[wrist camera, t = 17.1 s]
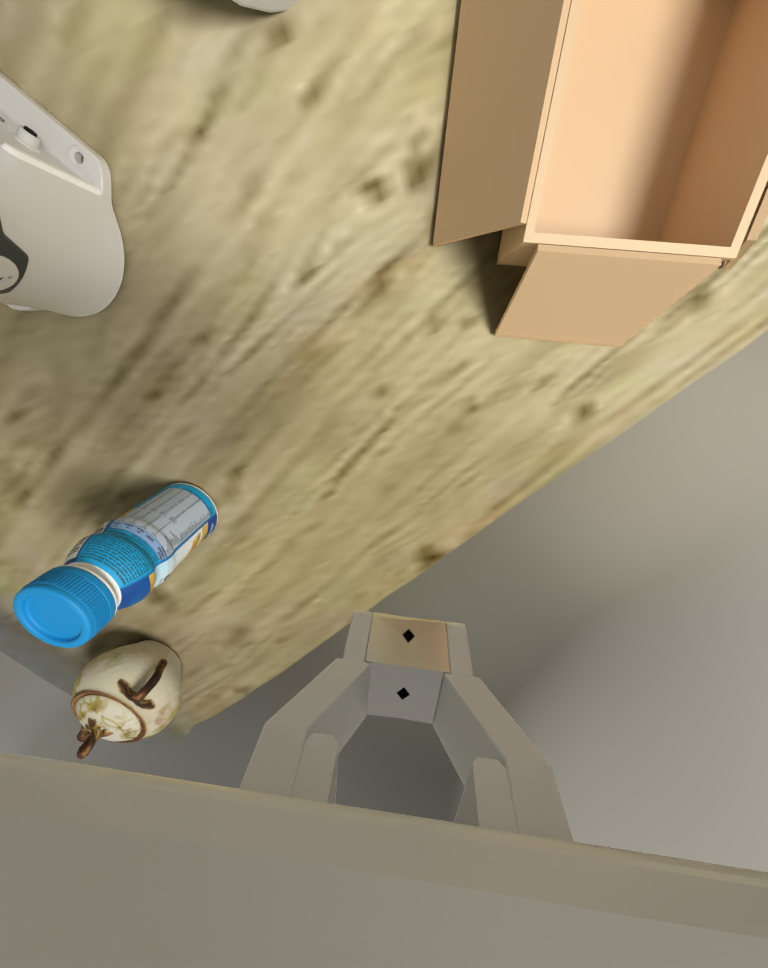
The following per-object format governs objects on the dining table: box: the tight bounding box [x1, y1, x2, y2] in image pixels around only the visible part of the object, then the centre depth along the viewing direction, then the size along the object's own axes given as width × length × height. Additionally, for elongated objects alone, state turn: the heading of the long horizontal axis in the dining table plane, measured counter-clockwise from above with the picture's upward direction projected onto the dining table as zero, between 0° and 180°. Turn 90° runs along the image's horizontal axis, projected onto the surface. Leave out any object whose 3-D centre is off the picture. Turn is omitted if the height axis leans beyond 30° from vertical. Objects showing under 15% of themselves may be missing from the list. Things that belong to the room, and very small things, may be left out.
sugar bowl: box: [71, 640, 181, 759], centre depth 54 cm, size 20×15×15 cm
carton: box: [433, 0, 768, 347], centre depth 27 cm, size 24×26×10 cm
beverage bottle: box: [13, 483, 218, 648], centre depth 39 cm, size 8×8×20 cm
